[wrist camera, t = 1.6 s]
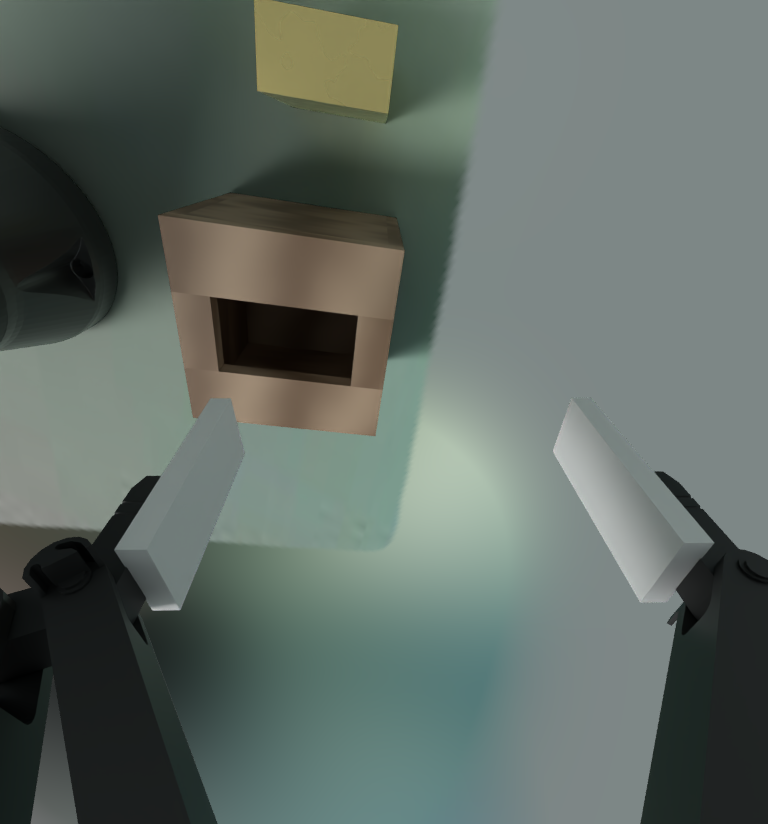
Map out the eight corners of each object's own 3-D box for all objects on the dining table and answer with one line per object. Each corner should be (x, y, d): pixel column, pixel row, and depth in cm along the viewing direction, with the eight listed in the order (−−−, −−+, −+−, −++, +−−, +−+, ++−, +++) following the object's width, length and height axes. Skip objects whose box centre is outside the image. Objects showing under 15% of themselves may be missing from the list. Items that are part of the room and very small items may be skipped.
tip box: (242, 345, 34) (193, 417, 25) (230, 192, 27) (157, 214, 18) (376, 361, 35) (375, 436, 26) (396, 217, 29) (404, 250, 19)
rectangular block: (293, 107, 25) (257, 90, 17) (293, 44, 23) (254, -4, 16) (385, 123, 25) (388, 113, 18) (392, 63, 24) (398, 25, 16)
